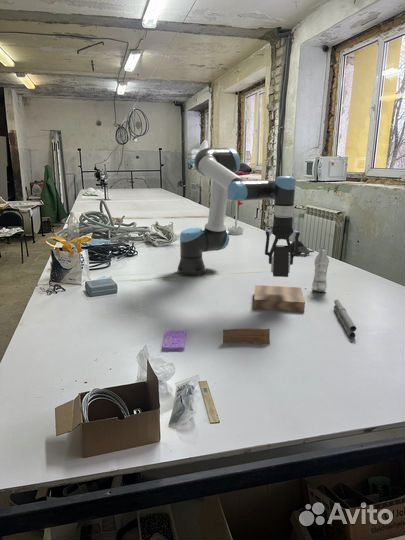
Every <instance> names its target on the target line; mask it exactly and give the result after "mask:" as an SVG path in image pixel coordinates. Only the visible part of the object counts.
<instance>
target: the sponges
mask: <svg viewBox="0 0 405 540" xmlns="http://www.w3.org/2000/svg"><path fill="white" fill-rule="evenodd" d="M186 336H187V330H186V329H179V330H178V329H177V330H165V335H164V339H163V344H162V351H165V352H167V351H168V352H171V351H173V352H174V351H185V343H186Z"/></svg>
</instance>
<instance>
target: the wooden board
mask: <svg viewBox="0 0 405 540" xmlns="http://www.w3.org/2000/svg"><path fill="white" fill-rule="evenodd" d="M253 298H254V299H253V309H254V310H255V309H256V310H271V311H272V310H273V311H284V312H285V311H287V312H302V313H304V312H305V307H306V306H305V305H306V301H305V297H304V293H303V290H302V287H299V286H298V287H297V286H296V287H295V286H281V285H279V286H277V285H259V284H255V289H254V297H253Z"/></svg>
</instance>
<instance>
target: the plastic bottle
mask: <svg viewBox="0 0 405 540" xmlns="http://www.w3.org/2000/svg"><path fill="white" fill-rule="evenodd" d="M327 254H328V248H323V247H319V248H318V252H317V255H316V256H315V258H314V275H313V281H312V283H311V287H312V290H313V291H314V292H317V293H323V292H325V291H326V290H327V288H328V287H327V284H328V283H327V274H328V273H327V272H328V268H329V263H330V259H329V257H328V255H327Z"/></svg>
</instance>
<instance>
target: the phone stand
mask: <svg viewBox="0 0 405 540" xmlns="http://www.w3.org/2000/svg"><path fill="white" fill-rule="evenodd" d="M272 256H274V263H273V272H272V276H273V277H281V278H289V273H288V270H289V256H290V253H289V248H288V245H283V244H281V245H278V244H276V247H274V252H273V255H272Z"/></svg>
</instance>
